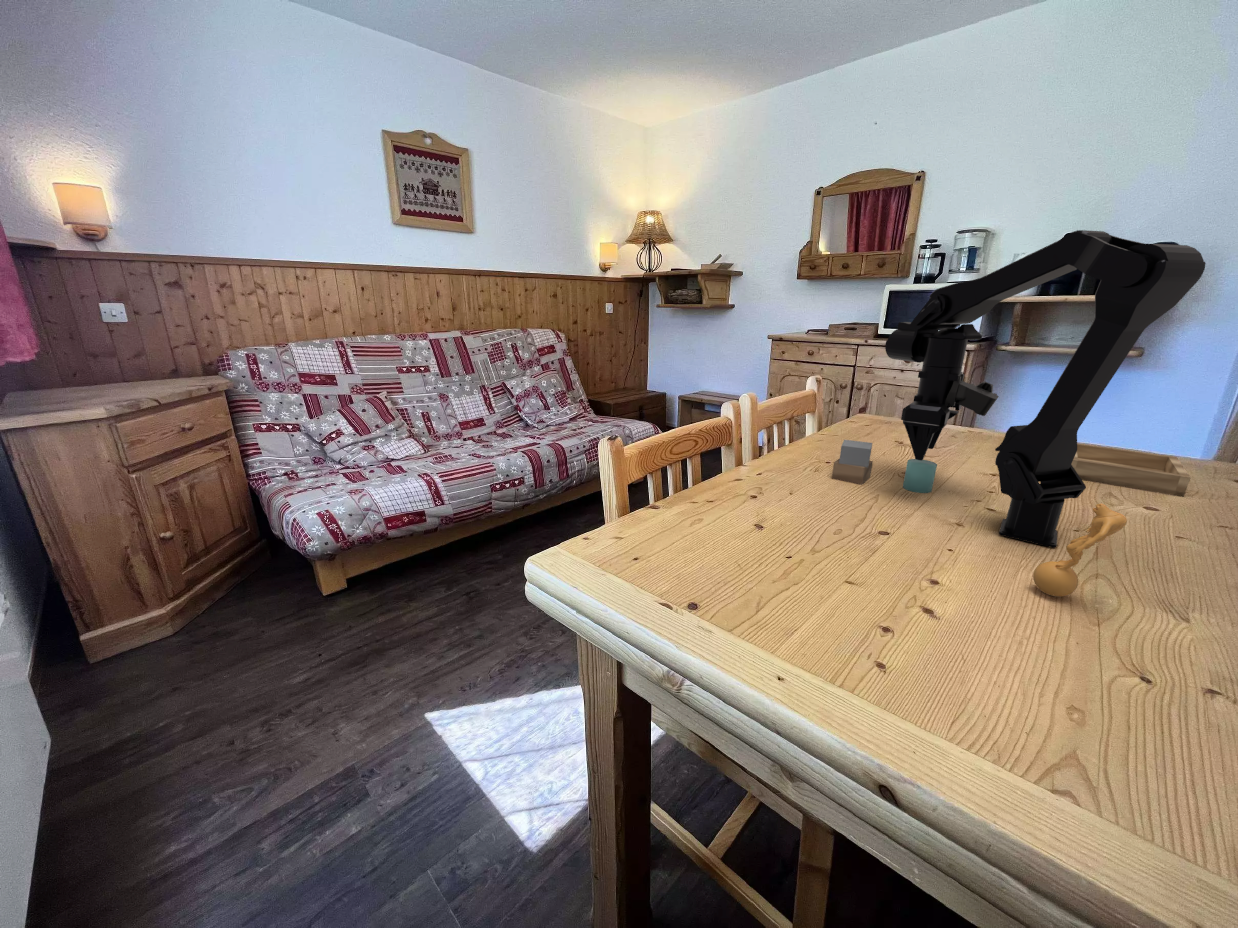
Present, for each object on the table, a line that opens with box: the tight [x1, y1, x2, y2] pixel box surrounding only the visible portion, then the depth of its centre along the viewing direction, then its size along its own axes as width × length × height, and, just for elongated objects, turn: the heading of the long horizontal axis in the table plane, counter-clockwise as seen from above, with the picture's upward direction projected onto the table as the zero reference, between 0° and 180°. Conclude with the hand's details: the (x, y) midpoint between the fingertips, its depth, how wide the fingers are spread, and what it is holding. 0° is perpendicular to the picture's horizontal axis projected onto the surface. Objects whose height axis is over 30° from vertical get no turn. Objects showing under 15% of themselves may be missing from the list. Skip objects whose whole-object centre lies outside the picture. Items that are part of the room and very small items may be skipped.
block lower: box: [831, 457, 874, 486], centre depth 96 cm, size 6×6×4 cm
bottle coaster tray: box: [1071, 443, 1192, 497], centre depth 98 cm, size 16×16×4 cm
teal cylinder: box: [902, 458, 938, 494], centre depth 91 cm, size 5×5×5 cm
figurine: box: [1032, 503, 1128, 598], centre depth 56 cm, size 8×6×12 cm
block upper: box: [838, 439, 873, 467], centre depth 95 cm, size 5×5×4 cm
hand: (924, 454), depth 89 cm, fingers open, 9 cm apart
